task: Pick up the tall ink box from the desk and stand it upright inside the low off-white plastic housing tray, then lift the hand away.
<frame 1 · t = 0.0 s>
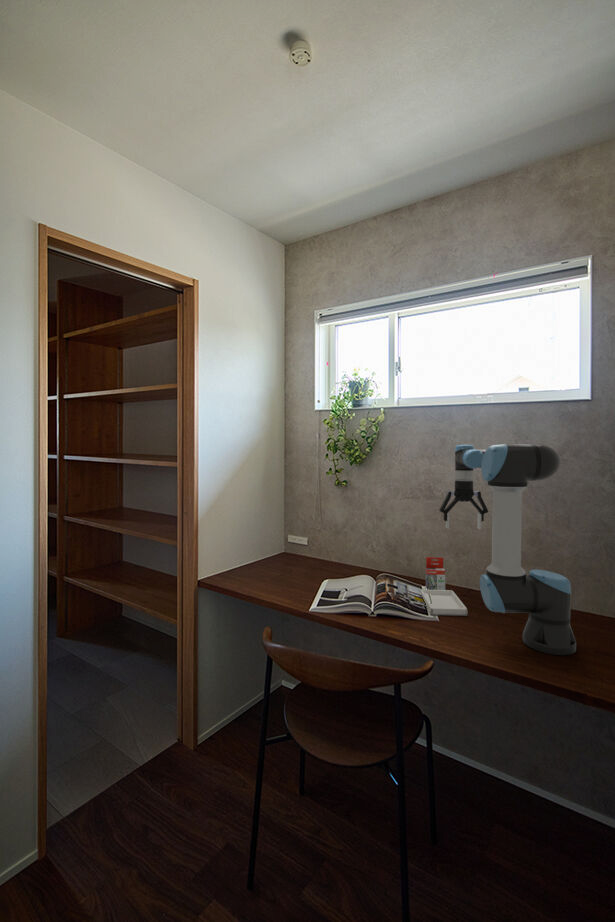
hand: (463, 528, 189), 28 cm above the table, tool pointing down, fingers open, 13 cm apart
ink box: (435, 591, 192), on the table
housing tray: (442, 604, 175), on the table
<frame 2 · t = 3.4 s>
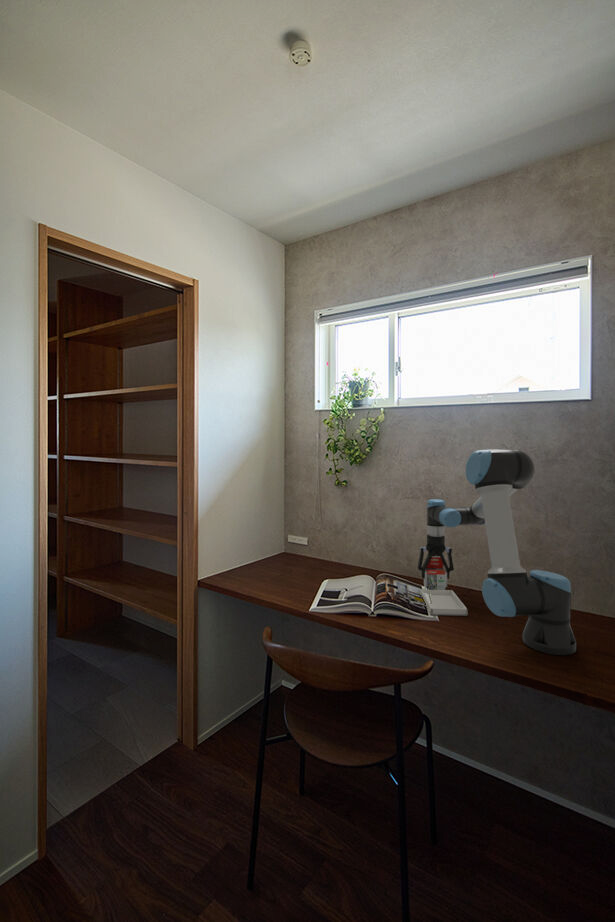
hand: (435, 585, 192), 2 cm above the table, tool pointing down, fingers closed on ink box, 8 cm apart
ink box: (435, 591, 192), on the table, touching gripper
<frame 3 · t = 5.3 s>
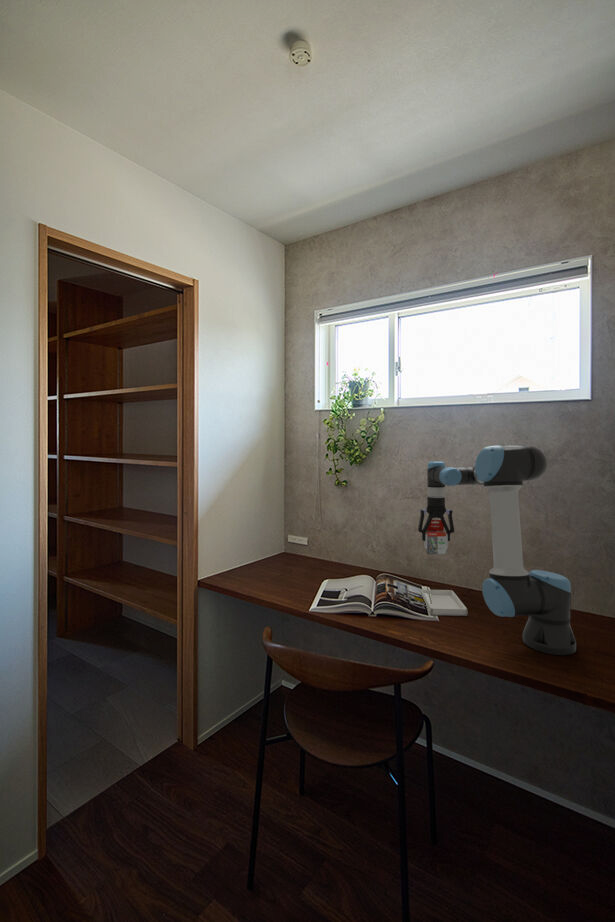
hand: (435, 548, 191), 19 cm above the table, tool pointing down, fingers closed on ink box, 8 cm apart
ink box: (435, 553, 191), point 17 cm above the table, touching gripper
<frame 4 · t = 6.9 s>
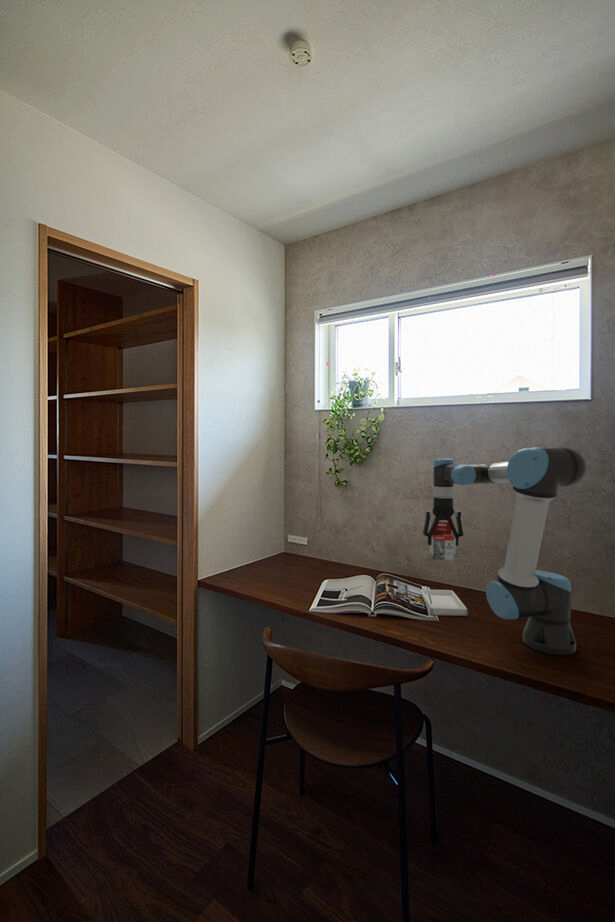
hand: (442, 553, 174), 21 cm above the table, tool pointing down, fingers closed on ink box, 8 cm apart
ink box: (442, 559, 174), point 19 cm above the table, touching gripper
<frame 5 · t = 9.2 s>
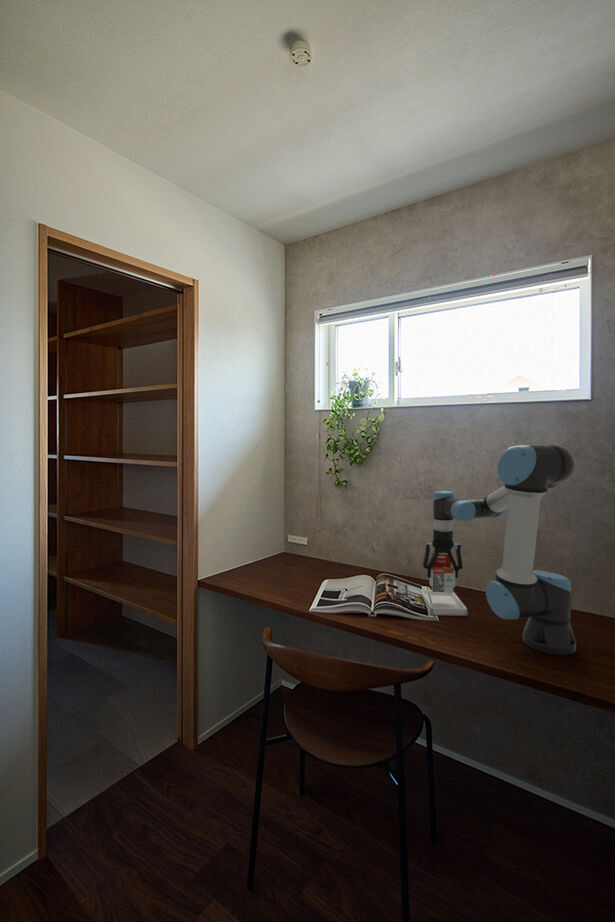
hand: (442, 585, 175), 8 cm above the table, tool pointing down, fingers closed on ink box, 8 cm apart
ink box: (442, 591, 175), point 5 cm above the table, touching gripper
when the fingers open (5 cm above the table, at t = 10.8 s): ink box drops 2 cm, resting on housing tray.
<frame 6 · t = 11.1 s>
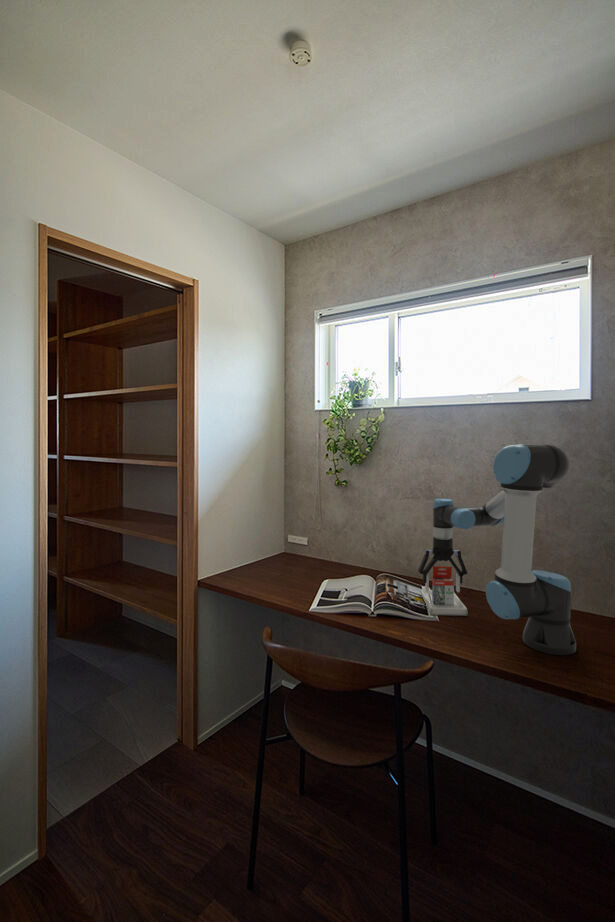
hand: (442, 591, 175), 6 cm above the table, tool pointing down, fingers open, 11 cm apart
ink box: (442, 604, 175), resting on housing tray
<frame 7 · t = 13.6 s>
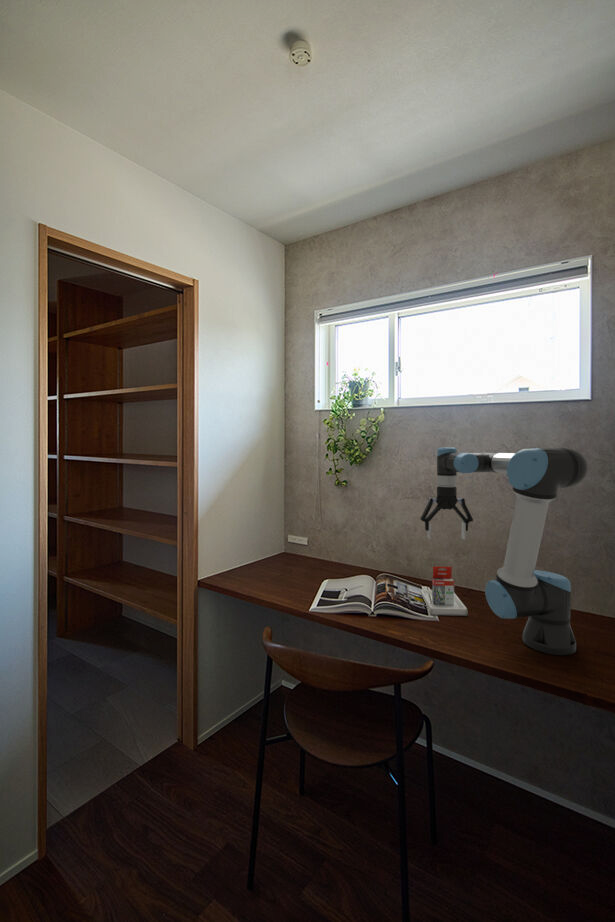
hand: (446, 538, 174), 27 cm above the table, tool pointing down, fingers open, 13 cm apart
nothing on the table moved.
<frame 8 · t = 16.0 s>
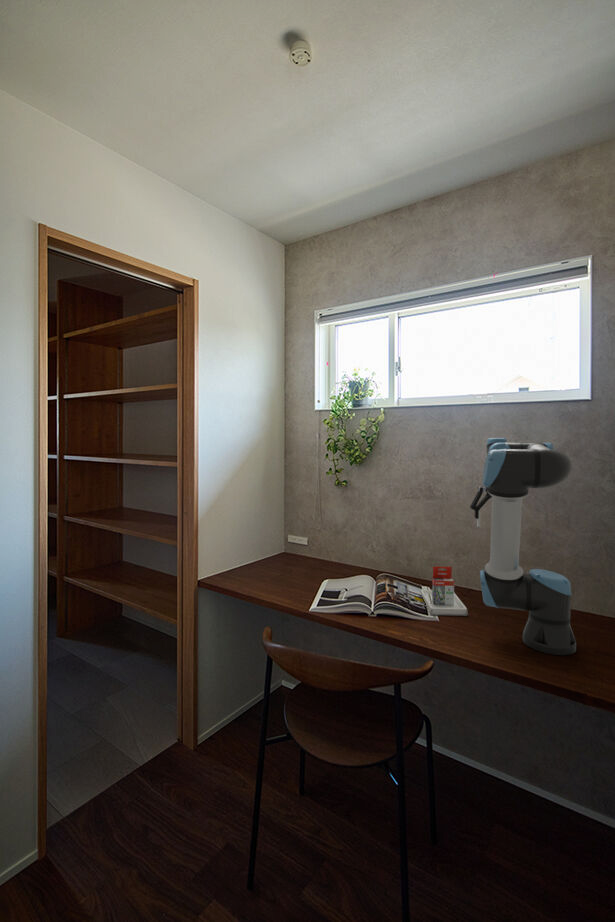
hand: (495, 526, 179), 31 cm above the table, tool pointing down, fingers open, 13 cm apart
nothing on the table moved.
at the end: ink box inside the target area on the housing tray (0.3 cm from its centre), point 0.4 cm above the housing tray's base; ink box tilted 0°; the gripper is holding nothing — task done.
